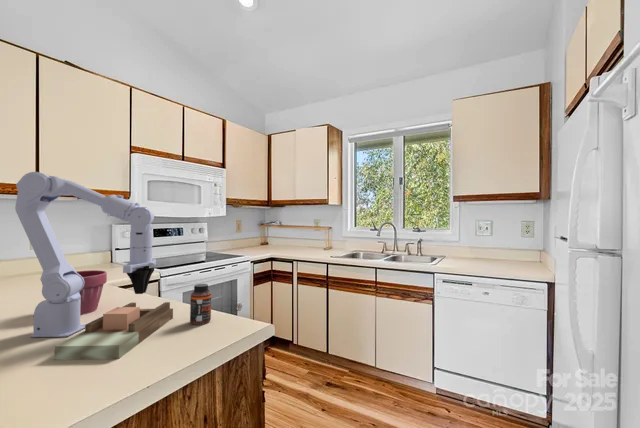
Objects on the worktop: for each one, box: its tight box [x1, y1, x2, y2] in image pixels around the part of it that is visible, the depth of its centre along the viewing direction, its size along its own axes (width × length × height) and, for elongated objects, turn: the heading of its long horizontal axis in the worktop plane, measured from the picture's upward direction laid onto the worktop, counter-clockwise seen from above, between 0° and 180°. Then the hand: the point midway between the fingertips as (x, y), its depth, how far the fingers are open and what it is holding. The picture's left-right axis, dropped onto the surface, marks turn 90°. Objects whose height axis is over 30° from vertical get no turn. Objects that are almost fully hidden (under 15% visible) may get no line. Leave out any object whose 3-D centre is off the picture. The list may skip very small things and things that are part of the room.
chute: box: [53, 301, 174, 361], centre depth 82 cm, size 14×28×5 cm, turn 3°
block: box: [102, 306, 141, 330], centre depth 81 cm, size 6×6×4 cm
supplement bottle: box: [189, 283, 212, 325], centre depth 93 cm, size 6×6×11 cm
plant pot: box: [75, 269, 108, 316], centre depth 102 cm, size 14×14×13 cm
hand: (140, 293), depth 90 cm, fingers closed
